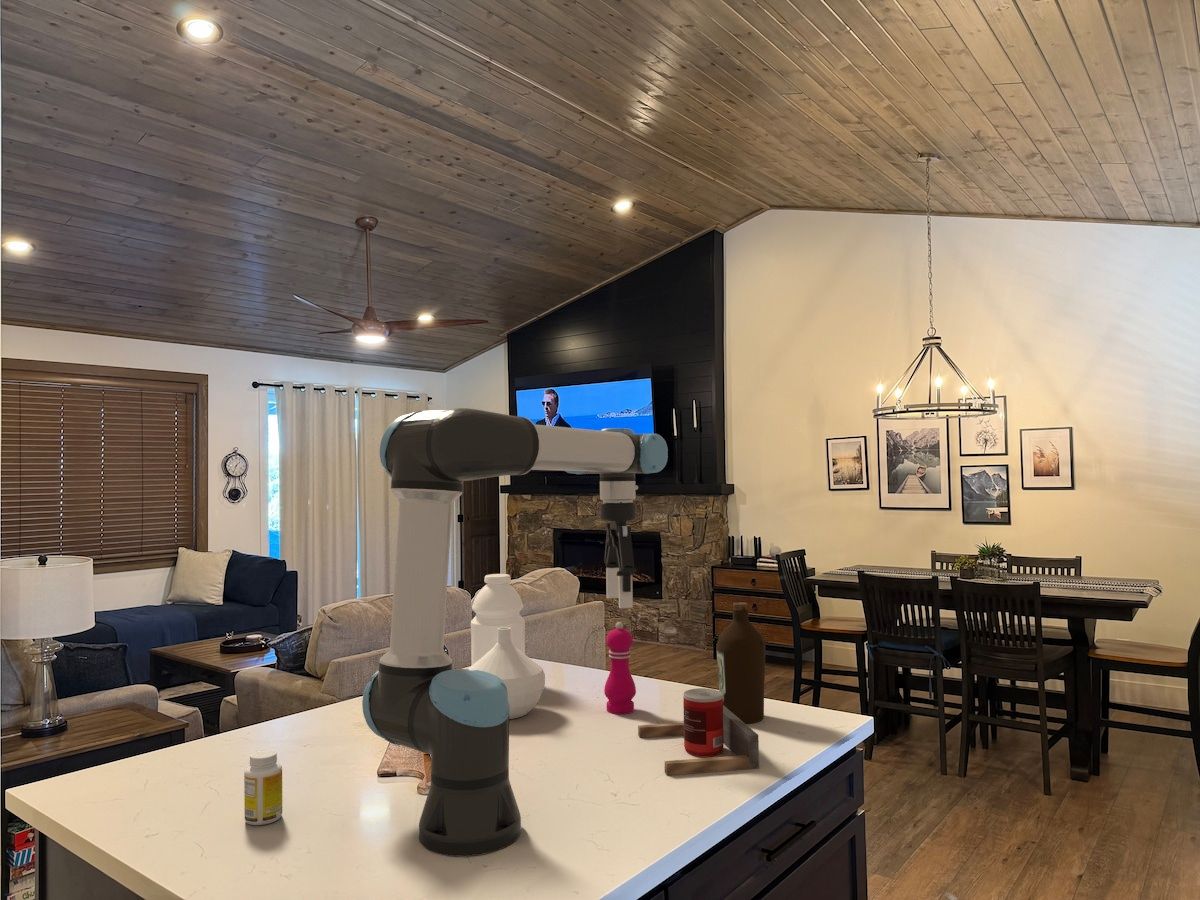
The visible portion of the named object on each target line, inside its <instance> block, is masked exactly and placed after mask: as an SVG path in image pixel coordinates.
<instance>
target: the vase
mask: <svg viewBox="0 0 1200 900" xmlns="http://www.w3.org/2000/svg"><path fill="white" fill-rule="evenodd" d="M467 669H469V670H471V671H474V670H479V671H484V672H488V673H490V674H493V675H495V676H497V677H499V678H500V679H501V680H502V681H503V682H504V683H505V685H506V687H507V692H508V703H509V706H510V709H509V711H510V712H509V720H514V719H518V718H521V717H524V716H526V715H527V714H528V713H530V711H532V710H533V709H534V708H535V706H536V705H537V703H538V702H539V701H540V698H541V696H542V695H543V694H542V693H543V691H544V689H545V685H546V673H545V671H544V668H543V667H542V666H541V665H539V663H537V662H536V661H535V660H533V659H532V658H531V657H529V656H527V655H526V653H525V654H524V653H522V652H521V651H520V650H519V649H517V648H516V647H515V646H514V645H513V643H512V642H511V628H509V627H501V628H498V640H497V643H496V645H495V646H494V647H493V648H492V649H491V650H490V651H489V652H488V653H486V654H485V655H484V656H483V657H482V658H481V659H479V660H478V661H477V662H476V663H474V664H473V665H472V664H471V666H470V667H468V668H467Z"/></svg>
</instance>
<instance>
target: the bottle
mask: <svg viewBox="0 0 1200 900" xmlns="http://www.w3.org/2000/svg"><path fill="white" fill-rule="evenodd" d="M483 581H484V583H485V585H484V586H482V588H481V589H480V590H479V591H478V592H477V594H476V596H475V597H474V600H473V602H472V605H471V609H472V611H473V612H474V613H475V616H474V617H473V618H472V619H471V620H470V639H471V640H470V641H471V644H470V646H471V647H470V648H471V650H470V651H471V652H470V653H471V654H470V655H471V657H470V658H471V661H470V662H471V666H472V665H473V664H474V663H476V662H477V661H478V660H479V659H481V658H482V657H483V656H484V655H485V654H486V653H488V652H489V651H490V650H491V649H492V648H493V647H494V646H495V645H496V643H497V640H498V628H501V627H509V628H511V642H512V643H513V645H514V646H515V647H516V648H517V649H519V650H520V651H521V652H522V653H524V654H525V655H526V647H525V646H526V644H525V643H526V637H525V635H526V633H525V632H526V620H525V618H524V617H523V616H522V615H521V611H522V610H523V609H524V607H525V606H524V604H523V600H522V597H521V596H520V594H519V593H518V592H517V590H516V589H515V588H514V587H513V586H512V585H511V584H510V582H511V581H512V579H511V574H508V573H491V574H486V575H485V576H484V580H483Z"/></svg>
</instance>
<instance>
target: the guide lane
mask: <svg viewBox="0 0 1200 900" xmlns="http://www.w3.org/2000/svg"><path fill="white" fill-rule="evenodd" d="M681 735H683V736H684V722H673V723H671V722H670V723H659V724H658V723H657V724H656V723H655V724H645V725H644V724H642V725H641V724H640V725H637V736H638V737H639V738H653V737H671V736H681ZM723 735H724V746H726V747H727V748H728V749H729V750H730V751H731V752H732V753H733V754H734V755H731V756H730V755H729V756H727V755H726V756H712V757H705V758H704V757H702V758H689V759H686V758H685V759H678V760H677V759H673V760H664V774H665V775H666V776H673V775H674V776H675V775H687V774H702V773H703V774H704V773H711V772H715V773H716V772H726V771H727V772H729V771H738V770H739V771H740V770H753V769H759V768H760V762H759V761H760V754H759V753H760V751H759V747H760V746H759V742H760V741H759V734H758V733H757V732H755V730H753V729H752V728H751V727H750V726H749V725H748V724H747V723H744V722H743V721H741V720H740V719H739V718H738V717H737V716H736V715H734V714H733V713H732V712H731V711H730V710H728V709H727V708H726V707H725V706H724V705H723Z"/></svg>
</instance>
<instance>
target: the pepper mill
mask: <svg viewBox="0 0 1200 900" xmlns="http://www.w3.org/2000/svg"><path fill="white" fill-rule="evenodd" d="M633 641H634V640H633V635H632V633H631V632H630V631H629V630H627V629H625V628H624V624H623V622H621V621H617V622H616V623H615V628H613V629H612V630H610V631H609V632H608V634H607V635H606V645H607V647H608V648H609V650H608V657H609V658H610V670H609V674H608V676H607V679H606V682H605V684H604V688H603V689H604V690H603V691H604V692H603V694H604V696H605V697H606V698H607V700H608V701H606V712H608V713H610V714H615V715H616V714H617V715H625V714H630V713H633V712H634V711H635V702H634V701H633V699H634V697H635V696H636V693H637V689H636V683H635V681H634V678H633V676H632V674H631V671H630V668H629V667H630V666H629V665H630V664H629V660H630V658H631V656H632V655H631V650H630V649H631V647H632V646H633V643H634V642H633Z"/></svg>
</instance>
